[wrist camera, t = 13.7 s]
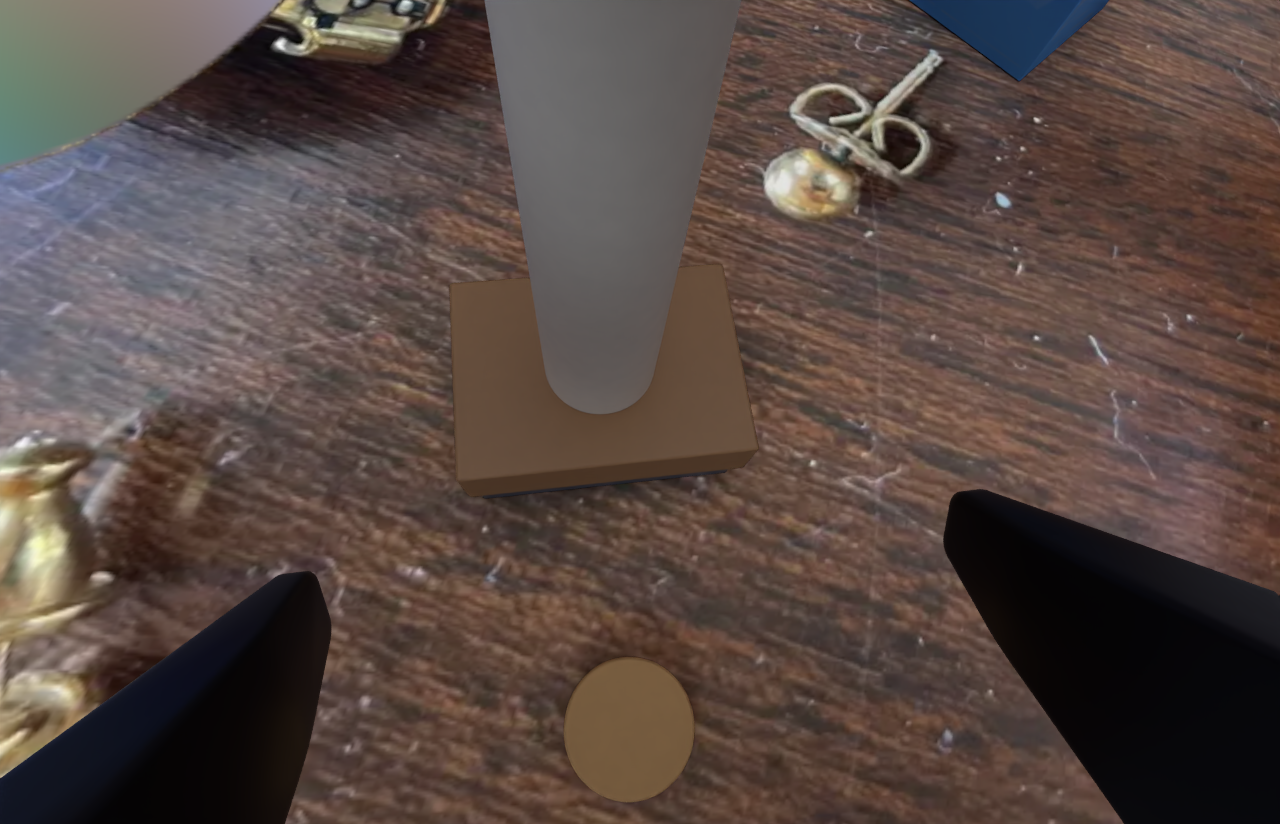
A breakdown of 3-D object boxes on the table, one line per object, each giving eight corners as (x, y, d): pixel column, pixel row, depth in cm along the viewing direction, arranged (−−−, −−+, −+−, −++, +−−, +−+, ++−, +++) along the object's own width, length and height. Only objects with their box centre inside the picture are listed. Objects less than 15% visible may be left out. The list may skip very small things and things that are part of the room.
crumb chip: (707, 770, 16) (712, 776, 15) (583, 815, 16) (583, 823, 15) (668, 640, 17) (672, 640, 16) (551, 678, 17) (549, 679, 16)
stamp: (734, 478, 19) (2006, -985, 2) (476, 507, 18) (-1252, -1603, 1) (705, 314, 21) (1228, -1194, 4) (468, 333, 20) (-241, -1491, 3)
